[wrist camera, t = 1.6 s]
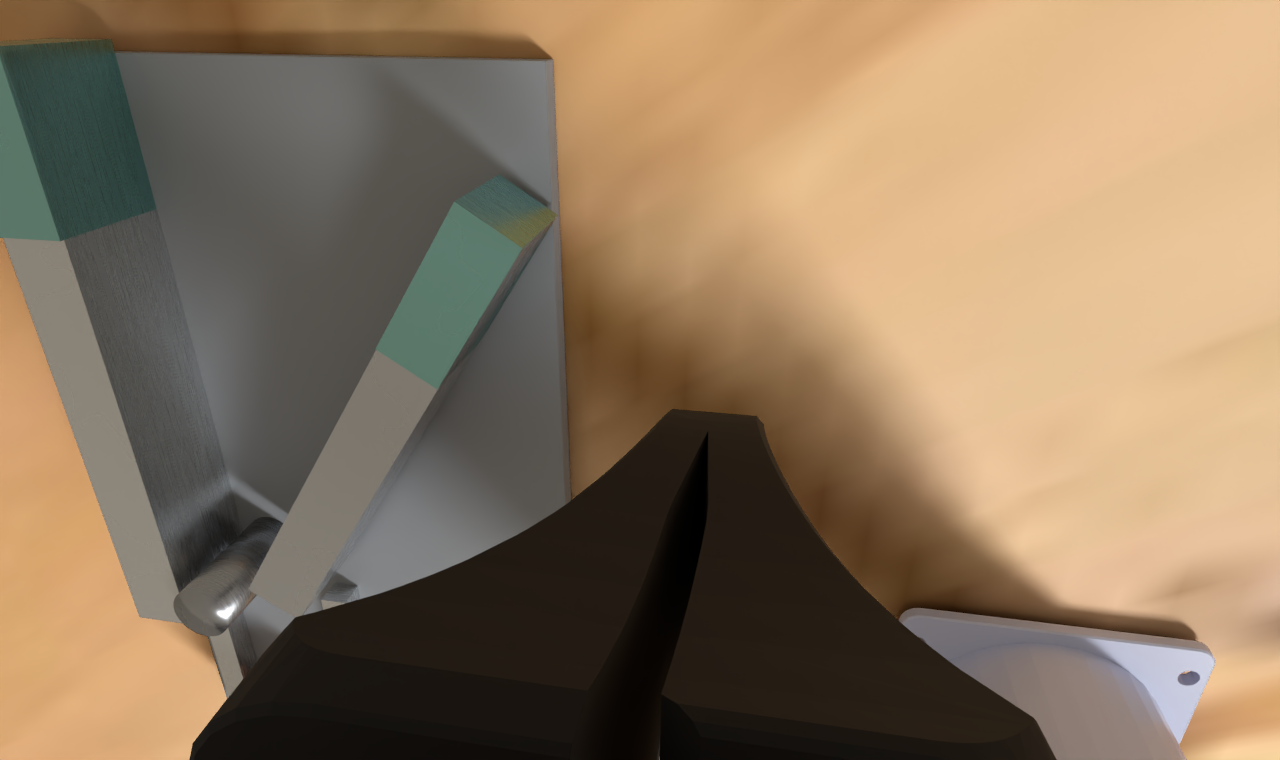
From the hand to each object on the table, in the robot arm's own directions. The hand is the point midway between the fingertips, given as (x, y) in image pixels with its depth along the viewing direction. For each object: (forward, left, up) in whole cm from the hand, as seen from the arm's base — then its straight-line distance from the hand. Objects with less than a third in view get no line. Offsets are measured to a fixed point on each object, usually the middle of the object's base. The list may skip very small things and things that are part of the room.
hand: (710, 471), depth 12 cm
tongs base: (-6, +14, -8) cm, 17 cm away
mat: (-6, +11, -8) cm, 15 cm away
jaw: (-3, +9, -7) cm, 12 cm away
